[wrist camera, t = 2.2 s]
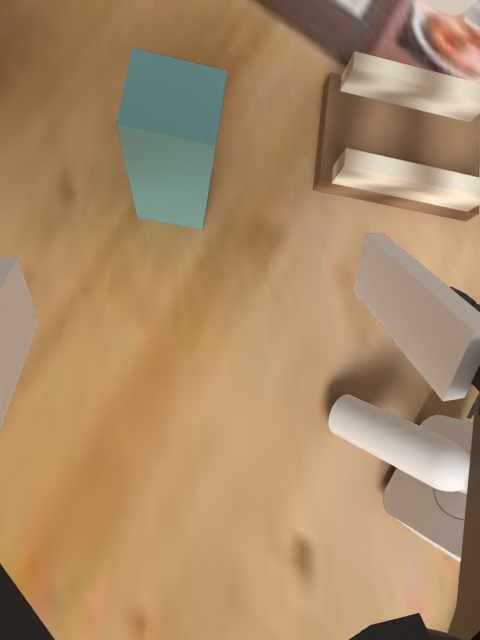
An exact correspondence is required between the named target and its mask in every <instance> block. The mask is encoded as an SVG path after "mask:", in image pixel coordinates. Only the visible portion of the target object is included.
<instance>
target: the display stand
mask: <svg viewBox="0 0 480 640" xmlns="http://www.w3.org/2000/svg"><path fill="white" fill-rule="evenodd" d="M479 167H480V83H477V82H473V81H469V80H465V79H461V78H457V77H453V76H449V75H445V74H442V73H438V72H434V71H430V70H426V69H422V68H418V67H414V66H410V65H406V64H403V63H399V62H395V61H391V60H387V59H383V58H379V57H375V56H371V55H367V54H364V53H360V52H356V51H354V53H353V55H352V57H351V59H350V61H349V63H348V65H347V66H346V68H345V70H344V72H343V74H342V76H341V75H337V74H333V73H330V75H329V77H328V79H327V81H326V83H325V85H324V91H323V101H322V110H321V120H320V130H319V139H318V149H317V158H316V168H315V178H314V187H313V190H317V191H322V192H326V193H331V194H336V195H341V196H346V197H351V198H355V199H360V200H365V201H370V202H375V203H380V204H385V205H389V206H394V207H399V208H404V209H409V210H414V211H419V212H423V213H428V214H433V215H438V216H443V217H448V218H452V219H457V220H462V221H467V220H469V219H471V218H473V217H474V216H476V215H478V214H479V205H480V178H479Z"/></svg>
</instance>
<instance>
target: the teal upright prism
mask: <svg viewBox="0 0 480 640" xmlns="http://www.w3.org/2000/svg"><path fill="white" fill-rule="evenodd" d="M227 72H228V71H227V70H223V69H218V68H214V67H210V66H206V65H202V64H198V63H193V62H189V61H185V60H181V59H177V58H172V57H168V56H164V55H160V54H156V53H152V52H147V51H143V50H139V49H135V48H132V52H131V57H130V62H129V66H128V71H127V76H126V80H125V85H124V90H123V94H122V99H121V104H120V108H119V113H118V118H117V122H116V127H117V131H118V135H119V140H120V144H121V148H122V153H123V157H124V161H125V166H126V170H127V174H128V179H129V183H130V187H131V192H132V196H133V200H134V205H135V209H136V213H137V218H141V219H146V220H152V221H157V222H163V223H168V224H173V225H179V226H184V227H189V228H195V229H200V230H203V223H204V217H205V211H206V205H207V198H208V192H209V186H210V179H211V173H212V167H213V161H214V154H215V148H216V142H217V135H218V129H219V123H220V117H221V110H222V104H223V98H224V91H225V85H226V79H227Z"/></svg>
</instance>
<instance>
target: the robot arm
mask: <svg viewBox="0 0 480 640" xmlns="http://www.w3.org/2000/svg"><path fill="white" fill-rule="evenodd" d="M353 292H354V294H355V295H356V296H357V297H358V298H359V300H360V301H361V302H362V303H363V305H364V306H365V307H366V308H367V309H368V311H369V312H370V313H371V314H372V316H373V317H374V318H375V319H376V320H377V322H378V323H379V324H380V325H381V326H382V328H383V329H384V330H385V331H386V333H387V334H388V335H389V336H390V337H391V339H392V340H393V341H394V342H395V344H396V345H397V346H398V347H399V348H400V350H401V351H402V352H403V353H404V355H405V356H406V357H407V358H408V359H409V361H410V362H411V363H412V364H413V365H414V367H415V368H416V369H417V370H418V372H419V373H420V374H421V375H422V376H423V378H424V379H425V380H426V381H427V383H428V384H429V385H430V386H431V387H432V389H433V390H434V391H435V392H436V394H437V395H438V396H439V397H440V398H441V400H442V401H448V400H455V399H461V398H465V396H466V394H467V392H468V390H469V388H470V386H471V384H473V385H474V386H475V387H476V388H477V390H478V391H479V394H478V396H477V398H476V400H475V402H474V404H473V406H472V408H471V410H470V412H469V414H468V416H467V418H469V419H471V417H472V415H474V420H473V431H472V442H471V453H470V464H469V475H468V486H467V497H466V508H465V519H464V530H463V541H462V552H461V563H460V574H459V585H458V596H457V604H456V609H455V613H454V616H453V619H452V622H451V624H450V627H449V630H448V634H447V633H445V632H441V631H437V630H433V629H428V628H426V626H425V624H424V622H423V620H422V618H421V616H420V614H419V613H417V614H413V615H409V616H405V617H401V618H397V619H393V620H389V621H385V622H381V623H377V624H373V625H370V626H368V627H367V628H365V629H364V630H362V631H361V632H360V633H358V634H357V635H355V636H354V637H352V638H351V639H349V640H480V305H479V304H476V302H475V301H474V300H473V299H472V298H470V297H469V296H468V295H467V294H465V293H463V292H461V291H459V290H457V289H455V288H453V287H448V286H447V285H446V284H445V283H444V282H442V281H441V280H440V279H439V278H437V277H436V276H435V275H434V274H433V273H431V272H430V271H429V270H428V269H427V268H425V267H424V266H423V265H422V264H420V263H419V262H418V261H417V260H416V259H414V258H413V257H412V256H411V255H410V254H408V253H407V252H406V251H405V250H403V249H402V248H401V247H400V246H399V245H397V244H396V243H395V242H394V241H392V240H391V239H390V238H389V237H388V236H386V235H385V234H384V233H371V234H366V235H365V239H364V244H363V249H362V253H361V258H360V263H359V267H358V272H357V277H356V281H355V286H354V290H353ZM38 323H39V319H38V316H37V313H36V310H35V307H34V304H33V301H32V298H31V295H30V292H29V289H28V286H27V284H26V281H25V278H24V275H23V272H22V269H21V266H20V263H19V260H18V257H13V258H0V430H1V427H2V425H3V422H4V419H5V416H6V413H7V411H8V408H9V405H10V402H11V399H12V397H13V394H14V391H15V388H16V385H17V382H18V380H19V377H20V374H21V371H22V368H23V366H24V363H25V360H26V357H27V354H28V351H29V349H30V346H31V343H32V340H33V337H34V335H35V332H36V329H37V326H38ZM0 640H55V639H54V638H53V636H52V635H51V634H50V632H49V631H48V629H47V628H46V627H45V625H44V624H43V622H42V621H41V620H40V618H39V617H38V616H37V614H36V613H35V611H34V610H33V609H32V607H31V606H30V604H29V603H28V602H27V600H26V599H25V597H24V596H23V595H22V593H21V592H20V590H19V589H18V588H17V586H16V585H15V583H14V582H13V581H12V579H11V578H10V576H9V575H8V574H7V572H6V571H5V570H4V568H3V567H2V565H1V564H0Z"/></svg>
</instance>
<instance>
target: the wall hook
mask: <svg viewBox="0 0 480 640" xmlns="http://www.w3.org/2000/svg"><path fill="white" fill-rule="evenodd" d="M328 424H329V429H330V430H331V432H333V433H335V434H336V435H338V436H340V437H342V438H344V439H345V440H347V441H349V442H351V443H353V444H355V445H356V446H358V447H360V448H362V449H364V450H365V451H367V452H369V453H371V454H373V455H375V456H376V457H378V458H380V459H382V460H384V461H385V462H387V463H389V464H391V465H393V466H395V467H396V470H395V472H394V474H393V476H392V477H391V479H390V481H389V483H388V485H387V487H386V489H385V491H384V494H383V505H384V508H385V510H386V511H387V513H388V514H390V515H391V516H392V517H394V518H395V519H397V520H398V521H399V522H401V523H402V524H403V525H405V526H406V527H408V528H409V529H410V530H412V531H413V532H414V533H416V534H417V535H419V536H420V537H422V538H423V539H425V540H426V541H428V542H429V543H431V544H432V545H434V546H436V547H437V548H439V549H440V550H442V551H443V552H445V553H446V554H448V555H450V556H451V557H453V558H454V559H456V560H457V561H459V562H461V552H462V541H463V530H464V519H465V508H466V497H467V486H468V475H469V464H470V453H471V442H472V431H473V423H472V422H468V421H464V420H460V419H456V418H452V417H448V416H443V415H434V416H431V417H429V418H427V419H426V420H424V421H423V422H422V423H421V424H420V426H419V425H417V424H415V423H412V422H410V421H408V420H406V419H403V418H401V417H399V416H397V415H394V414H392V413H390V412H388V411H385V410H383V409H381V408H379V407H376V406H374V405H372V404H369V403H367V402H365V401H363V400H360V399H358V398H356V397H354V396H351V395H349V394H346V395H343V396H341V397H340V398H339V399H338V400H337V401H336V402H335V404H334V405H333V407H332V409H331V412H330V415H329V421H328Z"/></svg>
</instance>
